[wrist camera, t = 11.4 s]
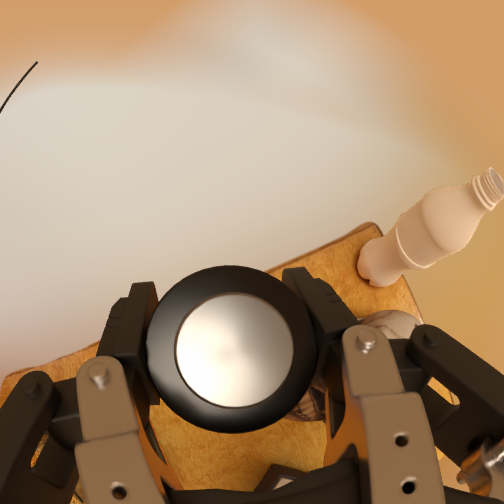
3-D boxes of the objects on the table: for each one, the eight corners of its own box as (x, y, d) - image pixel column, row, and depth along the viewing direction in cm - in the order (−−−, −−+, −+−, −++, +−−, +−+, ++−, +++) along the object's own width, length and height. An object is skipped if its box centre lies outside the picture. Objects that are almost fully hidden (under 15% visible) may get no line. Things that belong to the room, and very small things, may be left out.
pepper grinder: (163, 328, 13) (106, 302, 6) (241, 291, 14) (273, 226, 7) (204, 406, 12) (196, 471, 5) (282, 366, 13) (359, 381, 6)
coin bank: (259, 406, 30) (299, 427, 18) (315, 294, 38) (369, 258, 26) (352, 443, 29) (416, 460, 17) (393, 340, 37) (457, 322, 25)
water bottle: (395, 284, 38) (524, 215, 15) (360, 296, 37) (502, 223, 13) (381, 242, 40) (492, 150, 17) (345, 250, 39) (462, 144, 16)
